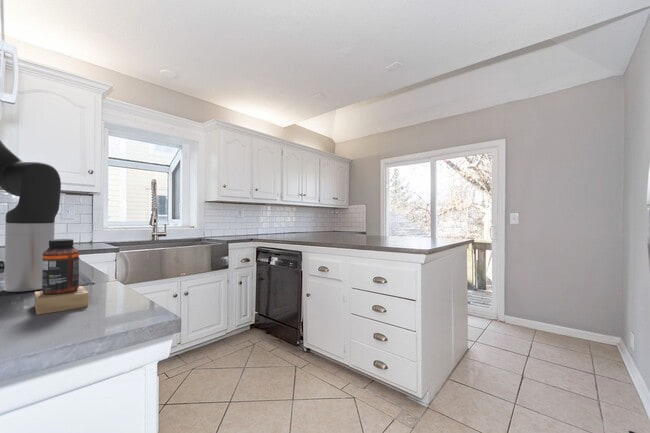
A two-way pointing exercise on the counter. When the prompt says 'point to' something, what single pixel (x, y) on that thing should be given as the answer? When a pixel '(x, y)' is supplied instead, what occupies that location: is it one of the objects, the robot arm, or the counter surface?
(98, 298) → the counter surface
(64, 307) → the oak base
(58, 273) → the supplement bottle
